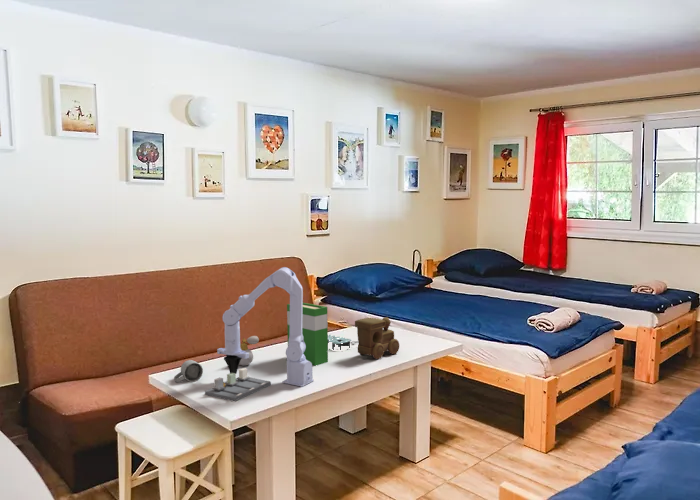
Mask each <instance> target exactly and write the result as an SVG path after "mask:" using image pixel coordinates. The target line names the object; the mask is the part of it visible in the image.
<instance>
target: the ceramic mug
mask: <svg viewBox="0 0 700 500" xmlns="http://www.w3.org/2000/svg"><path fill="white" fill-rule="evenodd" d="M203 374H204V369H203V366H202V364H200V363H199V362H197V361H195V360H192V359H188V360H185V361H183V362H182V364H181V367H180V372H178V373H177V374H176V375H174V377H173V380H174V382H175V381H176V382H175V383H179V382H182V381H184V380H186V381H188V382H190V383H193V382H197V381H199V380H200V378H202V376H203Z"/></svg>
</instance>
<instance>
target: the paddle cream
mask: <svg viewBox="0 0 700 500" xmlns="http://www.w3.org/2000/svg"><path fill="white" fill-rule="evenodd" d="M236 378H237V379H239V380H243V381H244V380H247V379H249V378H250V376H248V368H246V367H242V368H239V369H238V377H236Z"/></svg>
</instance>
